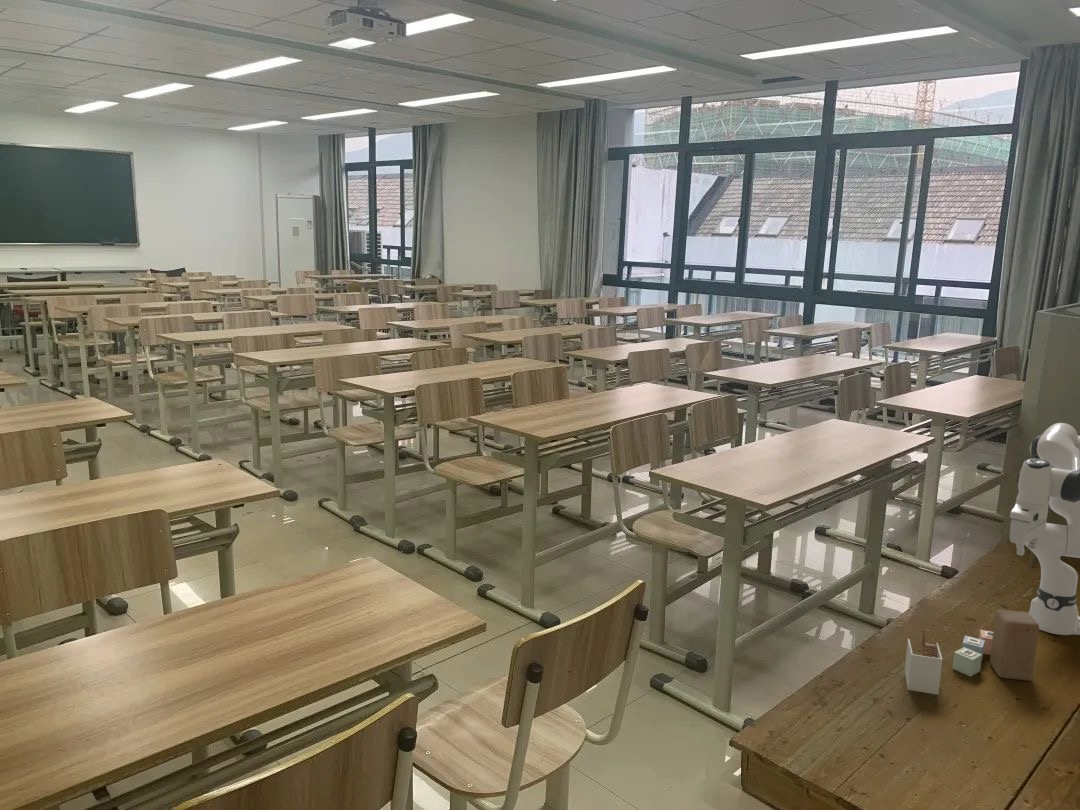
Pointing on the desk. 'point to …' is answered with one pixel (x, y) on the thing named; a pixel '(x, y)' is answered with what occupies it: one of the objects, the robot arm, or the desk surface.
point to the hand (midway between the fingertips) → (1025, 551)
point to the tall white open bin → (923, 669)
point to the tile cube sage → (967, 661)
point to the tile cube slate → (974, 644)
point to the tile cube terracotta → (986, 640)
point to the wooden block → (1014, 644)
